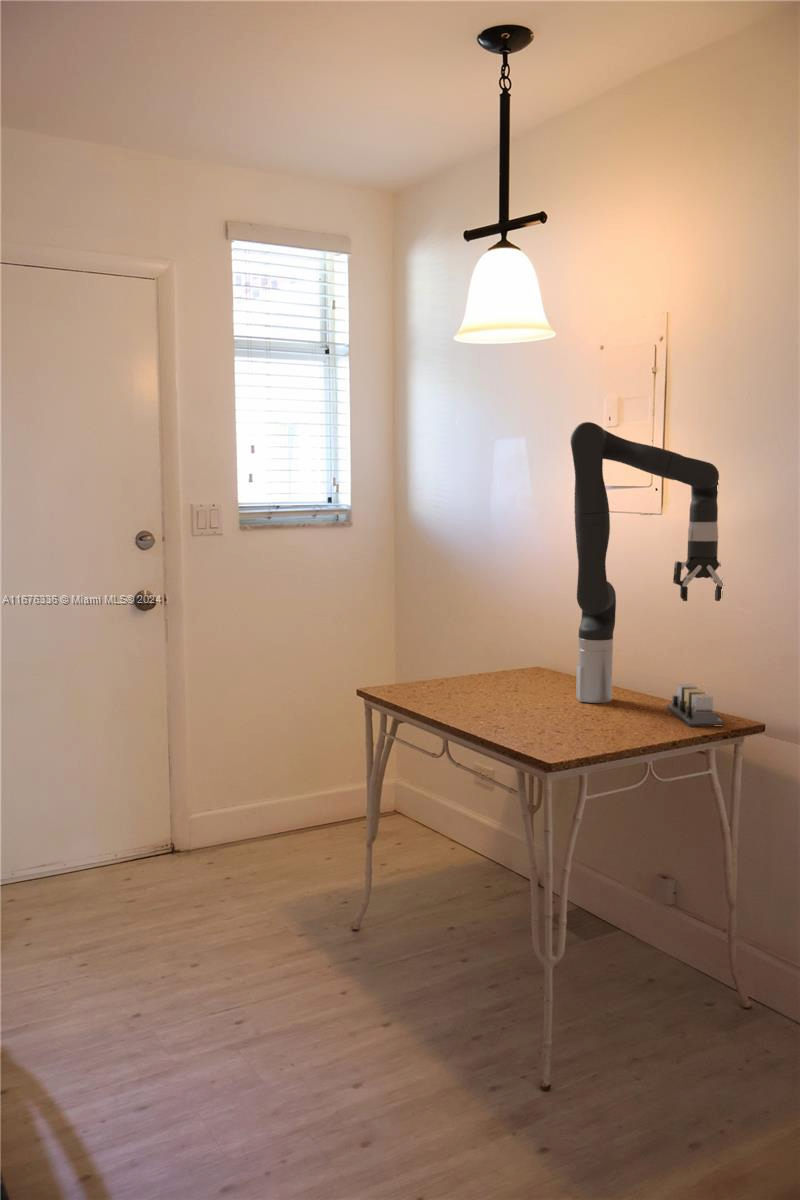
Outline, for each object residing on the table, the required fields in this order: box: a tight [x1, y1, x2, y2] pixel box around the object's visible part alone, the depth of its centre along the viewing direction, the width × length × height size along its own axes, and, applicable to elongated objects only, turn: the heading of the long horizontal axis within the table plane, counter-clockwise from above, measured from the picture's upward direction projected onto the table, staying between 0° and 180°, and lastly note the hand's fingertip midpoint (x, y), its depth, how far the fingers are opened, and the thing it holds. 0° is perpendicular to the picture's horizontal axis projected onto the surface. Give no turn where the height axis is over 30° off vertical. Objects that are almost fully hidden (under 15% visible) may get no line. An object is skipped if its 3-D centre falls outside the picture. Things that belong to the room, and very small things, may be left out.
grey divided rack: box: [666, 683, 724, 728], centre depth 249 cm, size 8×21×7 cm, turn 179°
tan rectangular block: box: [684, 688, 706, 714], centre depth 249 cm, size 4×4×6 cm
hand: (701, 600), depth 260 cm, fingers open, 8 cm apart
